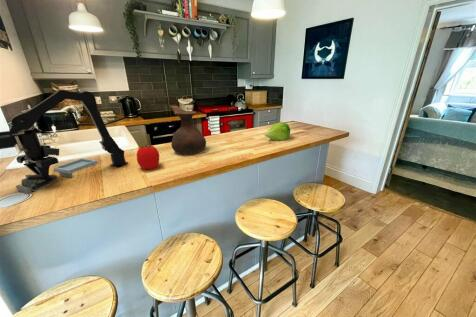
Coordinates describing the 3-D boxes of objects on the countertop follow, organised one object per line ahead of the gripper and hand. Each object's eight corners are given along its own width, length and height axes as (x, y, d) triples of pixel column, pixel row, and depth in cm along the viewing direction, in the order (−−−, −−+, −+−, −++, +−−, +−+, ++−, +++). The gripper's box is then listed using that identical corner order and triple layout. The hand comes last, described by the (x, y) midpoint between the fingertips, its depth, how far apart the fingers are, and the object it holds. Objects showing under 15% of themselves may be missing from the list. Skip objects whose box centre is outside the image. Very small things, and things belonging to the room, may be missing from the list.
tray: (97, 164, 115) (96, 160, 115) (69, 174, 102) (68, 170, 101) (83, 161, 119) (82, 158, 118) (54, 171, 106) (53, 167, 105)
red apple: (151, 174, 102) (147, 149, 97) (133, 171, 106) (128, 147, 101) (166, 165, 112) (163, 143, 108) (149, 163, 116) (145, 141, 112)
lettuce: (258, 142, 156) (259, 122, 150) (282, 138, 164) (284, 119, 159) (269, 147, 143) (270, 125, 138) (294, 143, 152) (296, 123, 147)
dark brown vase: (203, 146, 145) (200, 104, 135) (209, 156, 126) (206, 107, 116) (172, 150, 139) (166, 105, 128) (173, 160, 120) (166, 109, 109)
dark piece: (49, 179, 98) (17, 171, 87) (59, 175, 96) (28, 167, 86) (43, 198, 93) (9, 192, 83) (54, 195, 92) (20, 188, 81)
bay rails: (73, 178, 98) (71, 172, 97) (29, 195, 84) (26, 189, 83) (62, 175, 101) (60, 170, 100) (18, 192, 86) (15, 185, 85)
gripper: (66, 141, 90) (76, 173, 95) (40, 138, 96) (51, 168, 102) (35, 148, 80) (49, 183, 86) (9, 144, 86) (23, 177, 92)
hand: (44, 177), depth 91 cm, fingers open, 4 cm apart
